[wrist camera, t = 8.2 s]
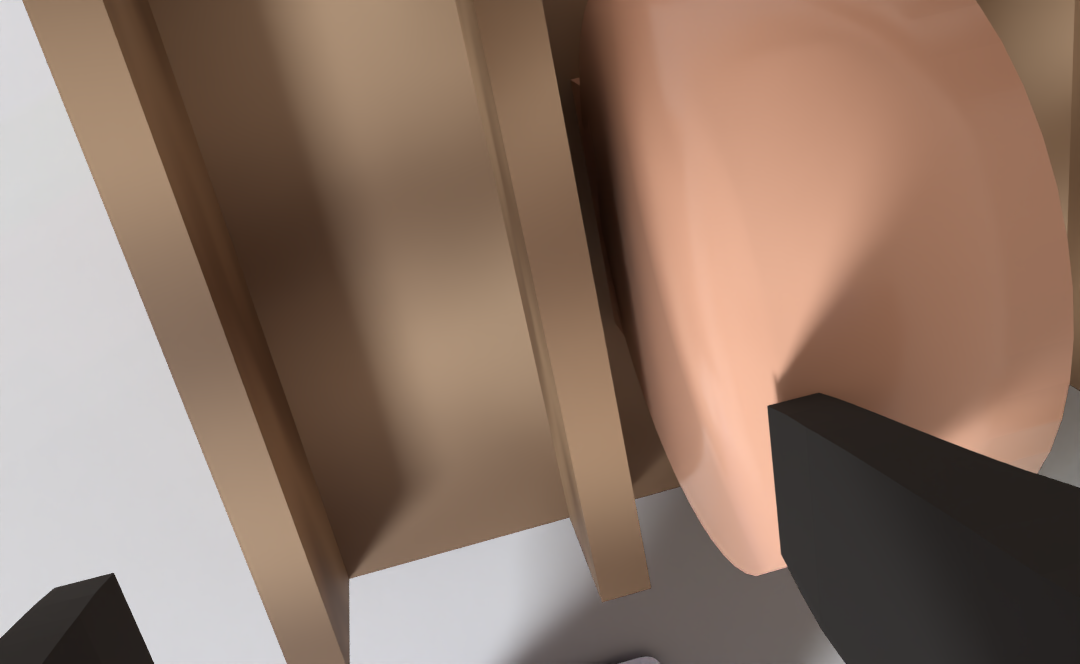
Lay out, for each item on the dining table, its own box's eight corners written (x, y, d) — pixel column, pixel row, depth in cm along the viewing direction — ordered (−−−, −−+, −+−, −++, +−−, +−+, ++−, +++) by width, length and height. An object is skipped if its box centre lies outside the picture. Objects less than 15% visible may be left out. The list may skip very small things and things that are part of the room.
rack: (1077, 355, 23) (1204, 429, 20) (305, 568, 22) (297, 690, 18) (1105, -319, 18) (1289, -380, 14) (57, -103, 16) (-23, -112, 12)
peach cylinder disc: (783, 363, 21) (1063, 639, 13) (630, 405, 21) (815, 714, 12) (737, -77, 17) (1088, -86, 9) (549, -34, 17) (739, -3, 9)
